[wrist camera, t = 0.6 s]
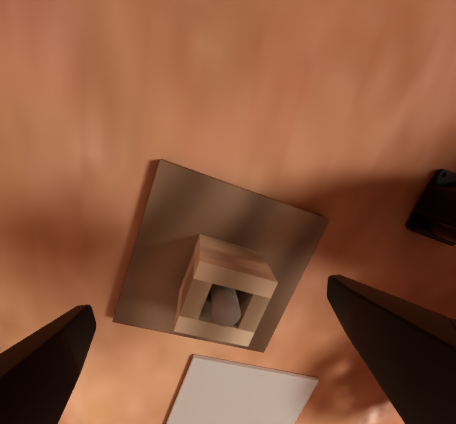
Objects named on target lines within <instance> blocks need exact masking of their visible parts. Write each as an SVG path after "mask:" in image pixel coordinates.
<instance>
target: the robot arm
mask: <svg viewBox="0 0 456 424" xmlns="http://www.w3.org/2000/svg"><path fill="white" fill-rule="evenodd" d="M406 228H407V229H408V230H411V231H414V232H416V233H419V234H422V235H424V236H427V237H429V238H432V239H435V240H437V241H440V242H443V243H445V244H448V245H451V246H453V245H455V244H456V174H455V173H453V172H451V171H448V170H445V169H439V170H438V171H437V172H436V173H435V175H434V177H433V179H432V180H431V182H430V184H429V185H428V187H427V189H426V191H425V192H424V194H423V196H422V198H421V199H420V201H419V203H418V204H417V206H416V208H415V210H414V211H413V213H412V215H411V217H410V218H409V220H408V222H407V224H406ZM327 298H328V300H329V302H330V304H331V306H332V308H333V310H334V312H335V314H336V316H337V317H338V319H339V321H340V323H341V325H342V327H343V329H344V331H345V332H346V334H347V336H348V338H349V339H350V341H351V342H352V344H353V345H354V347H355V348H356V350H357V351H358V353H359V354H360V356H361V358H362V359H363V361H364V362H365V364H366V365H367V367H368V368H369V370H370V371H371V373H372V374H373V376H374V377H375V379H376V380H377V382H378V383H379V385H380V386H381V388H382V389H383V391H384V392H385V394H386V395H387V397H388V399H389V400H390V402H391V403H392V405H393V406H394V408H395V409H396V411H397V412H398V414H399V415H400V417H401V418H402V420H403V421H404V423H405V424H456V320H454V319H451V318H447V317H446V316H443V315H441V314H438V313H436V312H433V311H431V310H428V309H426V308H423V307H420V306H418V305H415V304H413V303H410V302H408V301H405V300H403V299H400V298H398V297H395V296H393V295H390V294H387V293H385V292H382V291H380V290H377V289H375V288H372V287H370V286H367V285H365V284H362V283H360V282H357V281H354V280H352V279H349V278H347V277H344V276H342V275H332V276H329V277H328V284H327ZM95 330H96V321H95V317H94V314H93V310H92V307H91V306H90V305H80V306H76V307H75V308H73V309H71V310H70V311H68V312H67V313H65V314H63V315H62V316H60V317H59V318H57V319H55V320H54V321H52V322H50V323H49V324H47V325H46V326H44V327H42V328H41V329H39V330H38V331H36V332H34V333H33V334H31V335H30V336H28V337H26V338H25V339H23V340H22V341H20V342H18V343H17V344H15V345H13V346H12V347H10V348H9V349H7V350H5V351H4V352H2V353H1V354H0V424H58V422H59V420H60V418H61V415H62V413H63V411H64V409H65V407H66V404H67V402H68V400H69V398H70V396H71V393H72V391H73V389H74V387H75V385H76V382H77V380H78V378H79V375H80V373H81V370H82V368H83V365H84V362H85V359H86V356H87V353H88V350H89V348H90V345H91V342H92V339H93V336H94V333H95Z"/></svg>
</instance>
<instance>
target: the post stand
mask: <svg viewBox="0 0 456 424" xmlns="http://www.w3.org/2000/svg"><path fill="white" fill-rule="evenodd" d="M328 222H329V220H328V219H326V218H325V217H322V216H320V215H317V214H314V213H311V212H308V211H306V210H303V209H300V208H297V207H294V206H292V205H289V204H286V203H283V202H280V201H278V200H275V199H272V198H269V197H266V196H264V195H261V194H258V193H255V192H252V191H250V190H247V189H244V188H241V187H238V186H236V185H233V184H230V183H227V182H224V181H222V180H219V179H216V178H213V177H210V176H208V175H205V174H202V173H199V172H196V171H194V170H191V169H188V168H185V167H182V166H180V165H177V164H174V163H171V162H168V161H166V160H163V159H161V160H160V161H159V165H158V168H157V171H156V175H155V178H154V182H153V185H152V188H151V192H150V195H149V199H148V202H147V206H146V209H145V212H144V216H143V219H142V223H141V226H140V229H139V233H138V236H137V240H136V243H135V246H134V250H133V253H132V257H131V260H130V263H129V267H128V270H127V274H126V277H125V281H124V284H123V287H122V291H121V294H120V298H119V301H118V304H117V308H116V311H115V315H114V318H113V321H112V322H115V323H120V324H125V325H130V326H135V327H140V328H145V329H150V330H155V331H160V332H165V333H170V334H174V335H179V336H184V337H189V338H194V339H199V340H204V341H209V342H214V343H219V344H224V345H229V346H234V347H239V348H243V349H248V350H253V351H258V352H263V353H264V351H265V349H266V347H267V345H268V343H269V341H270V339H271V337H272V335H273V333H274V331H275V329H276V327H277V325H278V323H279V321H280V319H281V317H282V315H283V313H284V311H285V309H286V307H287V305H288V303H289V301H290V299H291V297H292V294H293V292H294V290H295V288H296V286H297V284H298V282H299V280H300V278H301V276H302V274H303V272H304V270H305V268H306V266H307V264H308V262H309V260H310V258H311V256H312V254H313V252H314V250H315V248H316V246H317V244H318V242H319V240H320V238H321V236H322V234H323V232H324V230H325V228H326V226H327V224H328ZM200 234H202V235H205V236H208V237H212V238H215V239H218V240H222V241H225V242H228V243H232V244H235V245H238V246H242V247H245V248H248V249H252V250H255V251H258V252H261V254H262V255H263V257H264V259H265V261H266V262H267V264H268V266H269V268H270V269H271V271H272V273H273V275H274V276H275V278H276V280H277V282H278V284H277V286H276V288H275V290H274V292H273V295H272V297H271V299H270V301H269V303H268V305H267V307H266V309H265V312H264V314H263V316H262V318H261V320H260V322H259V324H258V326H257V329H256V331H255V333H254V335H253V337H252V339H251V341H250V343H249V346H248V347H247V346H242V345H237V344H232V343H227V342H223V341H218V340H213V339H208V338H203V337H198V336H193V335H188V334H184V333H179V332H174V325H175V318H176V311H177V304H178V297H179V290H180V288H181V285H182V282H183V279H184V276H185V274H186V271H187V268H188V265H189V263H190V260H191V257H192V254H193V251H194V249H195V246H196V243H197V240H198V238H199V235H200ZM211 302H212V315H213V320H214V322H215V323H216V324H218V325H220V326H224V327H227V326H231V325H234V324H235V323H236V322H237V321H238V320H239V319H240V316H241V310H240V306H239V302H238V298H237V294H236V290H235V289H232V288H228V287H224V286H220V285H217V284H213V283H212V285H211Z"/></svg>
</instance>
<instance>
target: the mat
mask: <svg viewBox="0 0 456 424" xmlns="http://www.w3.org/2000/svg"><path fill="white" fill-rule="evenodd" d="M318 382H319V379H318V378H317V377H312V376H306V375H301V374H296V373H290V372H285V371H280V370H274V369H269V368H264V367H259V366H253V365H248V364H243V363H237V362H232V361H227V360H221V359H216V358H211V357H205V356H200V355H195V354H194V355H193V357H192V360H191V362H190V365H189V367H188V370H187V372H186V375H185V377H184V379H183V382H182V384H181V387H180V389H179V392H178V394H177V397H176V399H175V402H174V404H173V407H172V409H171V411H170V414H169V416H168V419H167V421H166V424H294V423H295V421H296V420H297V418H298V416H299V414H300V413H301V411H302V409H303V408H304V406H305V404H306V402H307V401H308V399H309V397H310V396H311V394H312V392H313V390H314V389H315V387H316V385H317V384H318Z"/></svg>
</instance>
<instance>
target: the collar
mask: <svg viewBox="0 0 456 424" xmlns="http://www.w3.org/2000/svg"><path fill="white" fill-rule="evenodd" d="M212 283H213V284H217V285H220V286H224V287H228V288H232V289H235V290H236V294H237V298H238V302H239V306H240V310H241V316H240V319H239V320H238V321H237V322H236V323H235V324H234V325H231V326H227V327H224V326H220V325H218V324H216V323H215V322H214V320H213V315H212V302H211V285H212ZM277 284H278V282H277V280H276V278H275V276H274V275H273V273H272V271H271V269H270V268H269V266H268V264H267V262H266V261H265V259H264V257H263V255H262V254H261V252H258V251H255V250H252V249H248V248H245V247H242V246H238V245H235V244H232V243H228V242H225V241H222V240H218V239H215V238H212V237H208V236H205V235H202V234H200V235H199V238H198V240H197V243H196V246H195V249H194V251H193V254H192V257H191V260H190V263H189V265H188V268H187V271H186V274H185V276H184V279H183V282H182V285H181V288H180V290H179V297H178V304H177V311H176V318H175V325H174V332H179V333H184V334H188V335H193V336H198V337H203V338H208V339H213V340H218V341H223V342H227V343H232V344H237V345H242V346H247V347H248V346H249V343H250V341H251V339H252V337H253V335H254V333H255V331H256V329H257V326H258V324H259V322H260V320H261V318H262V316H263V314H264V312H265V309H266V307H267V305H268V303H269V301H270V299H271V297H272V295H273V292H274V290H275V288H276V286H277Z"/></svg>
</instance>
